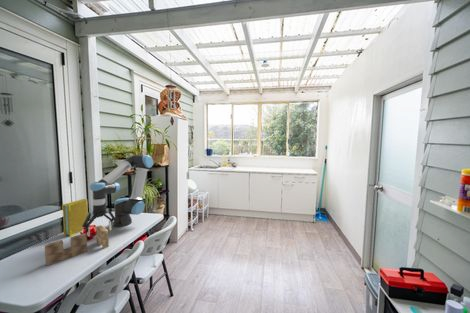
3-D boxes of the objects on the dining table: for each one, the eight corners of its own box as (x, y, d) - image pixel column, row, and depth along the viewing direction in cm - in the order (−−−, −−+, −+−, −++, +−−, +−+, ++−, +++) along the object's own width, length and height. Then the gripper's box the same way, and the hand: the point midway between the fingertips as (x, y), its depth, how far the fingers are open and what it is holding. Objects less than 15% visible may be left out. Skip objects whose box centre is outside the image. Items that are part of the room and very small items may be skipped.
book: (70, 236, 152) (69, 205, 151) (63, 235, 154) (62, 204, 152) (90, 227, 169) (89, 199, 167) (84, 226, 170) (83, 198, 169)
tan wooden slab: (101, 240, 146) (100, 225, 146) (108, 246, 138) (108, 230, 137) (96, 242, 144) (96, 226, 143) (103, 248, 136) (103, 231, 135)
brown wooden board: (85, 250, 133) (85, 233, 133) (87, 251, 132) (86, 234, 131) (45, 264, 118) (44, 244, 117) (46, 266, 116) (45, 246, 115)
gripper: (115, 199, 154) (116, 226, 155) (76, 207, 134) (76, 237, 135) (120, 201, 149) (120, 228, 150) (79, 209, 129) (80, 240, 130)
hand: (99, 232), depth 143 cm, fingers open, 13 cm apart
